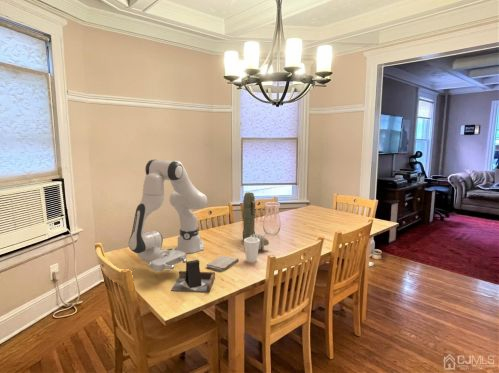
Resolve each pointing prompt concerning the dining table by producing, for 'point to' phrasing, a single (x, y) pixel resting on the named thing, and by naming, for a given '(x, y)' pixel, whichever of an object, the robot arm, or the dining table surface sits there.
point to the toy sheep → (262, 241)
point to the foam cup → (251, 248)
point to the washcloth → (222, 263)
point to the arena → (206, 282)
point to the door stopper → (193, 274)
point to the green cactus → (248, 215)
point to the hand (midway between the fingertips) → (179, 264)
